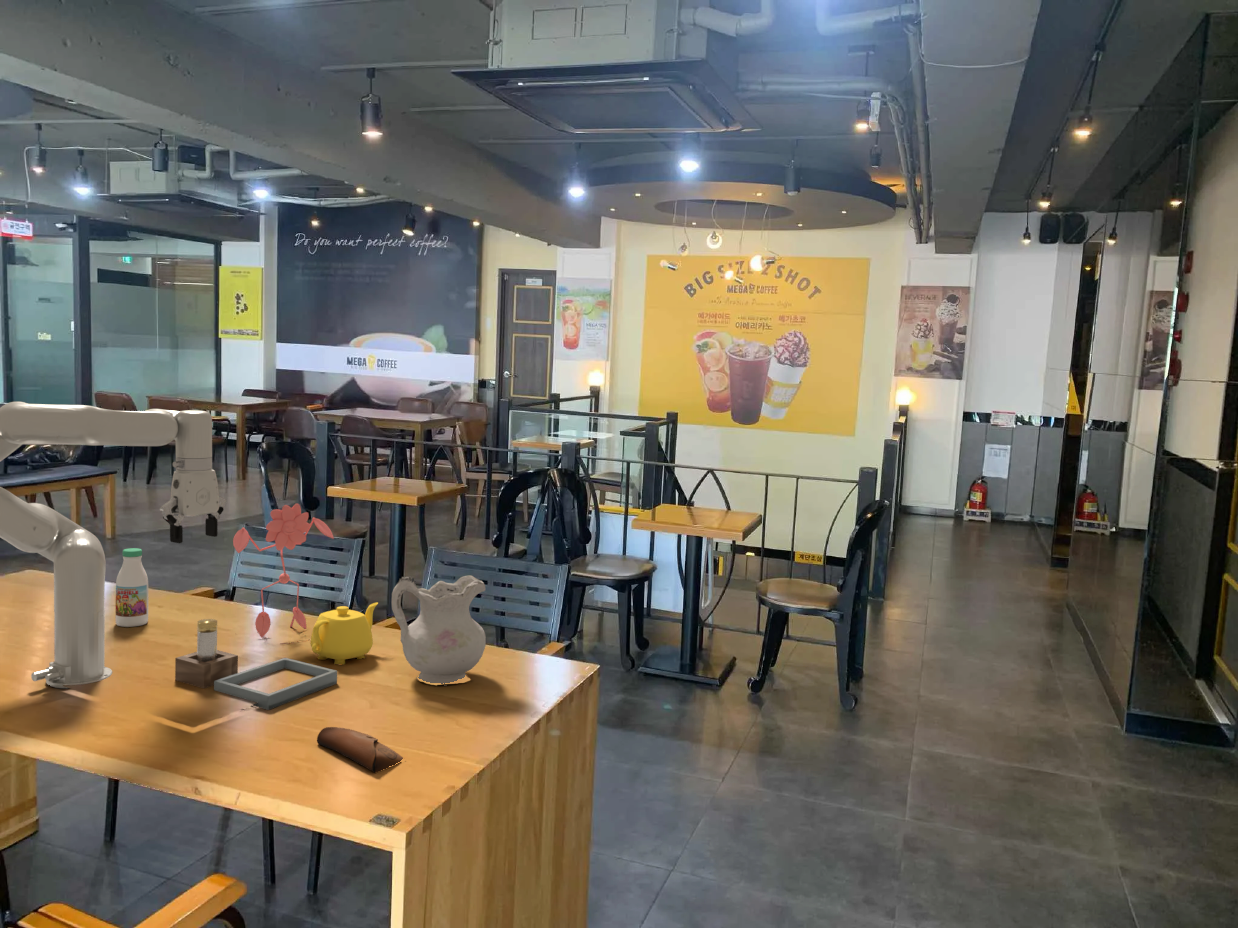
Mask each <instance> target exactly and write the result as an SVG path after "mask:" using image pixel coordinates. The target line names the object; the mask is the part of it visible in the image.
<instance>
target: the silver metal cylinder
mask: <svg viewBox="0 0 1238 928" xmlns="http://www.w3.org/2000/svg"><path fill="white" fill-rule="evenodd" d="M196 629H197V631H196V632H197V635H196V636H197V639H196V640H197V641H196V642H197V644H196V645H197V650H196V652H197V660H199V661H203V662H208V661H211V660H214V659H217V650H218V619H214V618H204V619H199V620H198V621H197V628H196Z"/></svg>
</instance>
